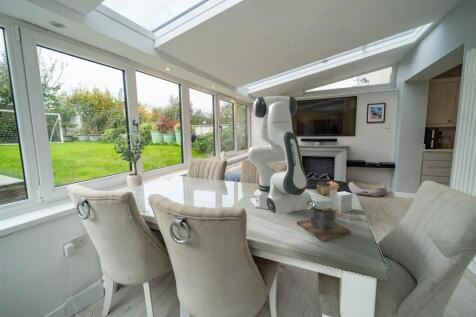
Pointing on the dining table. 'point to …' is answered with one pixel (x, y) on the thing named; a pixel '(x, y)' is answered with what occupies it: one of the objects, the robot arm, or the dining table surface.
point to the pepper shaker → (334, 195)
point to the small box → (344, 201)
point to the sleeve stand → (323, 225)
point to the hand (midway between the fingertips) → (324, 195)
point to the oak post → (323, 191)
